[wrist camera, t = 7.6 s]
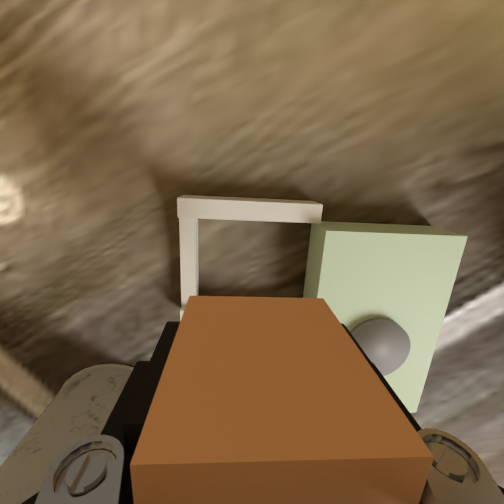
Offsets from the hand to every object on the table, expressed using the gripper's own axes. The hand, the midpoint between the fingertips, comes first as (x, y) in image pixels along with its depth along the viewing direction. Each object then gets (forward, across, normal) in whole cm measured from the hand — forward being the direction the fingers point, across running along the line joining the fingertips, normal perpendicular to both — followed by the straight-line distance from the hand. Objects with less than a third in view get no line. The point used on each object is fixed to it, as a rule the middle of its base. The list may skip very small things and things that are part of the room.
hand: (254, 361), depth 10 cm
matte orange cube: (0, 0, 0) cm, 0 cm away
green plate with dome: (+11, -5, +3) cm, 12 cm away
